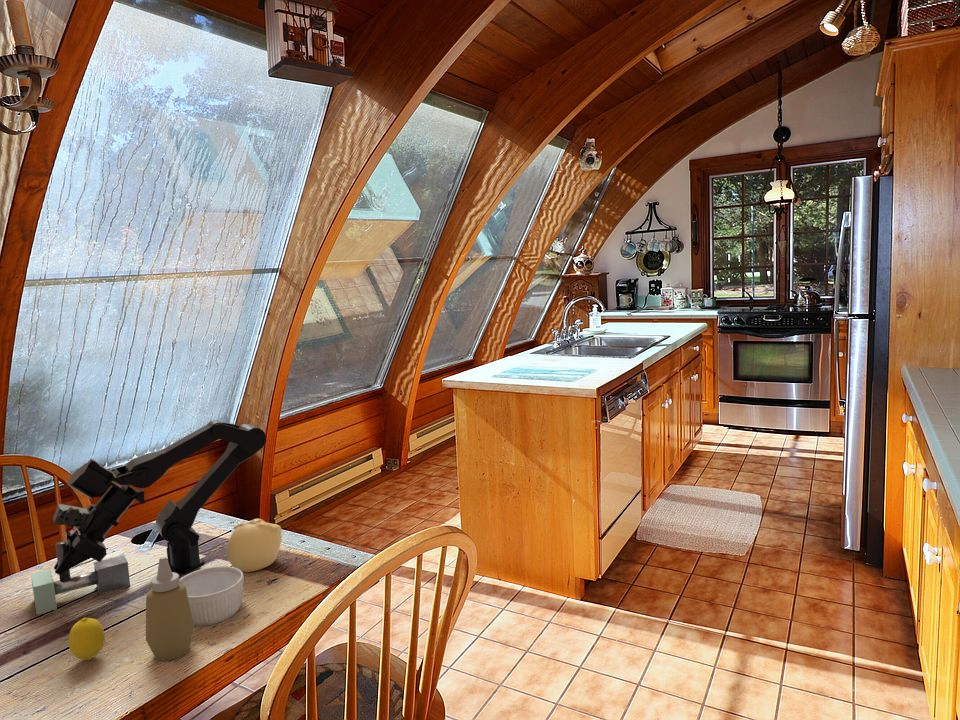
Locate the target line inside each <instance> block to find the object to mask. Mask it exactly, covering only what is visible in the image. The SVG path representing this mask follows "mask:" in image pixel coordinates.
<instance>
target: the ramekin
mask: <svg viewBox="0 0 960 720" xmlns="http://www.w3.org/2000/svg"><path fill="white" fill-rule="evenodd" d="M244 578H245V577H244V572H243V571H241V570H239V569H238V568H235V567H233V566H229V565H228V566H225V565H219V566H218V565H217V566H210V567H205V568H200V569H198V570H195V571H192V572H188V573H186V575H184V576H182V577H181V578H179V580H180V583H181V584H183V585H184V586H185V587H186V590H187V595H188V600H189V604H190V609H191V614H192V618H193V623H194V626H197V627H198V626H199V627H203V626H211V625H215V624H218V623H222V622H224V621H227V620H229V619H230V618H232V617H233V616H234V615H236V614H237V613H238V611H239V609H240V608H241V606H242V602H243V586H244V585H243V584H244V583H245V582H244V581H245V580H244Z"/></svg>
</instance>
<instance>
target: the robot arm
mask: <svg viewBox="0 0 960 720" xmlns="http://www.w3.org/2000/svg"><path fill="white" fill-rule="evenodd" d="M219 440H222V441H226V442H228V444H227V447H226V449H225V450H224V452H223V453H222V454H221V455H220V457H219V458H218V459H217V460H216V461H215V462H214V463H213V465H211V466H210V468H209V469H208V470H207V471H206V473H205V474H204V475H203V476H202V477H201V478H200V479H199V480H198V482H196V484H195V485H194V486H193V487H192V488H191V489H190V490H189V492H188V493H186V495H185V496H184V497H183V498H181V499H180V500H178V501H176V502H174V501H173V500H172V499H170V500H168V501H167V503H166V505H165V506H164V507H163V508H162V509H161V510H160V511H158V512H157V514H158V516H157V518H156V519H155V528H156V531H158V533H159V535H160V536H161V537H162V539H164V541H166V546H167V547H166V555H167V556H166V558H167V560H168V563H169V566H170V569H171V571H172V572H174V573H177V574H178V573H179V574H189V573H190V572H191V571H193V570H194V569H196V568H197V567H199V566H201V565H203V564H204V563H206V561H205V559H200V558H201V557H200V549H199V547H200V546H199V539H200V535H199V534H198V532H196V530H195V529H194V528H193V525H194V524H195V523H194V522H195V520H196V518H197V515H198V513H199V511H200V510H201V508H203V506H204V505H205V504H206V503H207V502H208V501H209V499H210V498H211V497H212V496H213V495H214V494H215V492H216V491H217V490H218V489H219V488H220V487H221V486H222V485H223V484H224V482H225V481H227V479H228V477H230V476H231V474H232V473H234V471H235V470H236V469H237V468H238V466H239V465H241V464H242V463H243V462H245V461H247V460H249V459H250V458H251V457H254V456H255V455H256V454H257V453H258V452H260V451H261V450H262V448H264V447H265V445H266V444H267V435H266V433H265V431H264V430H262V429H261V428H259V427H257V426H255V425H254V424H251V423H243V424H241V425H238V424H234V423H228V422H224V421H223V422H222V421H220V420H216V419H214V420H211V421H209V422H208V423H207V424H205V425H203V426H202V427H200V428H198V429H196V430H195V431H193V432H191V433H189V434H187V435H186V436H184V437H182V438H180V439H179V440H178V439H177V440H176V441H174V442H173V443H171V444H169V445H167V446H166V447H164V448H163V449H160V450H157V451H153V452H149V453H146V454H143V455H140V456H137V457H135V458H132V459H130V460H128V462H127V463H126V464H124V465H121V466H118V467H115V468H114V467H113V468H111V469H107V468H106V467H105V466H103V465H101V464H100V463H98V462H97V461H96V460H95V459H93V458H90V459H89V460H88V461H87V462H86V463H84V464H83V465H81V466H80V468H79V467H78V468H77V469H76V470H75V471H74V473H73V474H71V477H70V478H69V479H68V482H67V486H68V487H71V488H72V489H74V490H76V491H77V492H79V493H81V494H82V495H85V496H86V497H87V498H89V499H91V500H92V499H95V498H97V499H99V498H100V499H99V500H98V501H97V502H96V504H94V503H92V504H90V505H88V507H87V508H83V507H79V506H74V505H69V504H63V503H62V504H61V503H59V504H58V505H57V507H56V509H55V512H54V514H53V516H52V520H53V523H54V524H55V525H58V526H63V525H65V527H66V528H70V527H71V530H70V531H68V530H66V531H65V532H64V533H65V539H66V543H67V551H68V552H67V553H66V555H65V556H64V558H63V559H62V561H61V562H60V564H59V565H58V562H57V561H56V563H55V565H54V567H53V569H54V570H55V571H54V573H55V574H56V575H58V576H59V575H60V574H62V573H63V572H65V571H67V570H69V569H70V570H71V569H73V568H74V567H77V566H78V565H80V564H82V563H83V562H86V561H88V560H91V559H92V560H95V562H101V561H102V560H104V558H105V557H106V556H107V555H108V554H107V548H106V546H105V543H104V542H105V540H106V537H105V536H106V535H107V533H109V531H110V530H111V529H112V527H117V526H118V525H119V524H120V521H119V519H120V518H121V517H122V516H123V515H124V513H125V512H126V511H127V510H128V509H129V507H130V506H131V505H132V504H133V503H134V501H135V500H136V501H137V502H139V503H141V504H143V505H144V504H145V503H146V499H145V490H144V489H146V488H148V487H150V486H152V485H153V484H155V483H156V482H157V481H158V480H159V479H161V478H162V477H163V476H165V474H166V473H167V472H168V471H169V469H171V468H173V466H175V465H176V464H178V463H180V462H181V461H183V460H185V459H187V458H189V457H190V456H192V455H193V454H195V453H197V452H199V451H200V450H202V449H204V448H206V447H208V446H210V445H211V444H212V443H214V442H216V441H219Z"/></svg>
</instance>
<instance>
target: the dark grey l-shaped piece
mask: <svg viewBox="0 0 960 720" xmlns="http://www.w3.org/2000/svg"><path fill="white" fill-rule="evenodd" d="M55 552H56V563H57V562H58V565H59V564H60V562H61V561H62V559H63V558H64V556H65V555H66V553H67V552H68V551H67V540H66V541H65V540H62V541H58V542H55ZM58 576H59V577H58V578H59V579H58V580H55V581H54V589H55V596H58V595H60V594H65V593H69V592H73V591H76V590H80V589H84V588H87V587H92V586H95V585H96V584H98V578H97V572H96V571H95V570H94V571H91V572H87V573H84V574H83V573H82V574H78V575H76V576H75V575H74V576H71V569H69V570H67V571H65V572H63V573H62V574H60V575H58Z"/></svg>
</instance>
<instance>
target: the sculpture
mask: <svg viewBox="0 0 960 720" xmlns="http://www.w3.org/2000/svg"><path fill="white" fill-rule="evenodd" d="M233 530H234V531H233V532H232V533H231V535H230V537H229V538H228V541H227V544H226V557H227V559H228V562H229V563H230V564H231V565H230V566H231V567H235V568H238V569H239V570H241V571H242V572H244V573H245V572H247V573H248V572H255V571H259V570H262V569H265V568H266V567H268V566H270V565H272V564H273V563H274V562H275V561H276V560H277V557H278V555H279V551H280V547H281V544H282V541H283V539H282V538H283V536H282V527H281V525H279V524H276V523H271V522H267V521H265V520H264V519H261V518H254V519H252V520H249V521H246V522H240V523H238V524H235V525H234V526H233Z"/></svg>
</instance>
